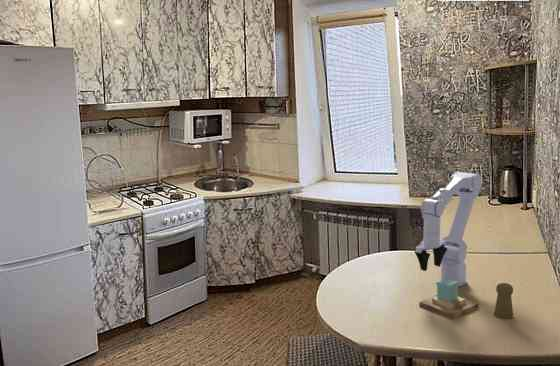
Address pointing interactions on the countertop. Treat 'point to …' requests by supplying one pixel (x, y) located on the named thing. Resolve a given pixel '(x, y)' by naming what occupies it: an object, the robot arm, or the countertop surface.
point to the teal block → (447, 290)
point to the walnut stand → (449, 306)
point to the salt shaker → (504, 301)
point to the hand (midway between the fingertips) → (430, 268)
